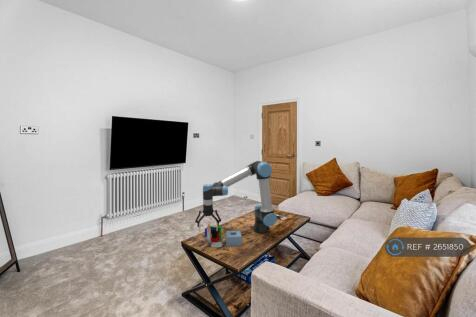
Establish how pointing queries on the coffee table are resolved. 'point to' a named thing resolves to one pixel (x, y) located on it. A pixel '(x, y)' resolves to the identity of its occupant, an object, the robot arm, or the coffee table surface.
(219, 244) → the tool mat
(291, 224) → the coffee table surface
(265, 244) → the coffee table surface
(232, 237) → the block
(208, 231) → the chuck key
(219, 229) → the puzzle toy
